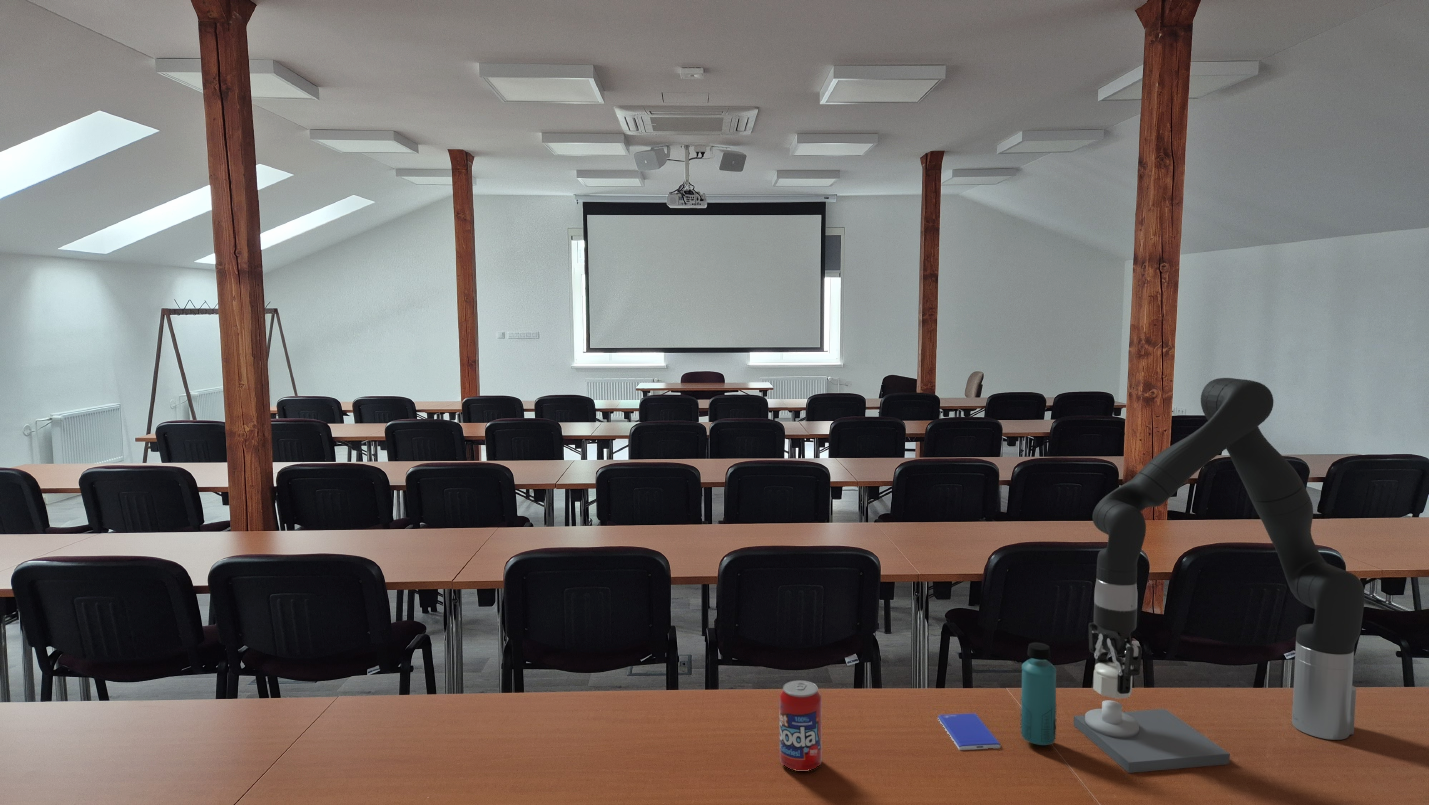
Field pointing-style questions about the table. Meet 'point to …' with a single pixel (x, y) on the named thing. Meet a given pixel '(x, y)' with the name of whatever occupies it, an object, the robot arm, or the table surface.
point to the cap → (1108, 680)
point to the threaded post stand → (1148, 739)
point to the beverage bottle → (1038, 696)
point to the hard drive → (968, 731)
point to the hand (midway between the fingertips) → (1112, 684)
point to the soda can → (800, 725)
